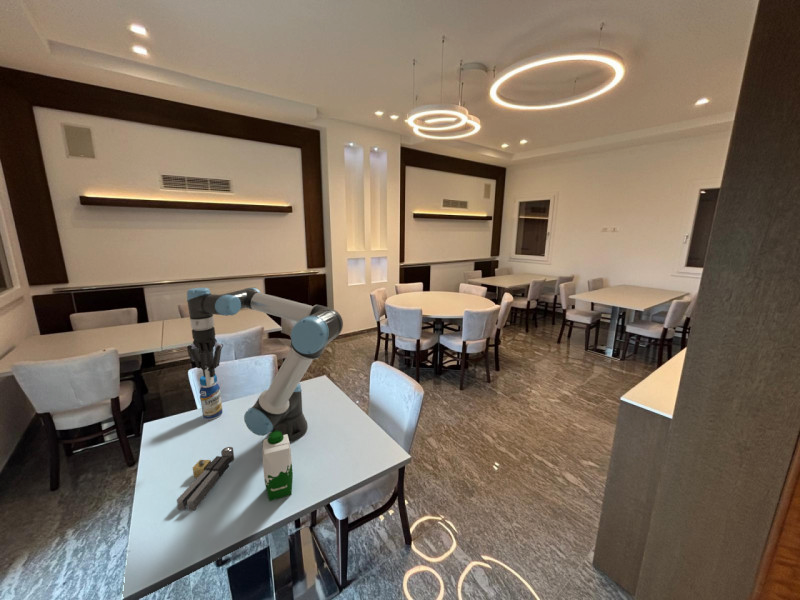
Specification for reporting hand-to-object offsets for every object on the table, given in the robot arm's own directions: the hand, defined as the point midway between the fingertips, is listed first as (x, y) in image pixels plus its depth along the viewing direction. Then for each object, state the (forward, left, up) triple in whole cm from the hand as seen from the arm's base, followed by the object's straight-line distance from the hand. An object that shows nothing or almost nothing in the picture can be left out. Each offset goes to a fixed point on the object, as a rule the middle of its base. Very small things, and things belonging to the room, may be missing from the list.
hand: (210, 384), depth 125 cm
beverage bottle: (+13, -18, -26) cm, 34 cm away
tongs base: (-11, +21, -26) cm, 35 cm away
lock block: (-6, +18, -26) cm, 32 cm away
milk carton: (-37, +24, -26) cm, 51 cm away
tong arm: (-9, +24, -26) cm, 36 cm away
